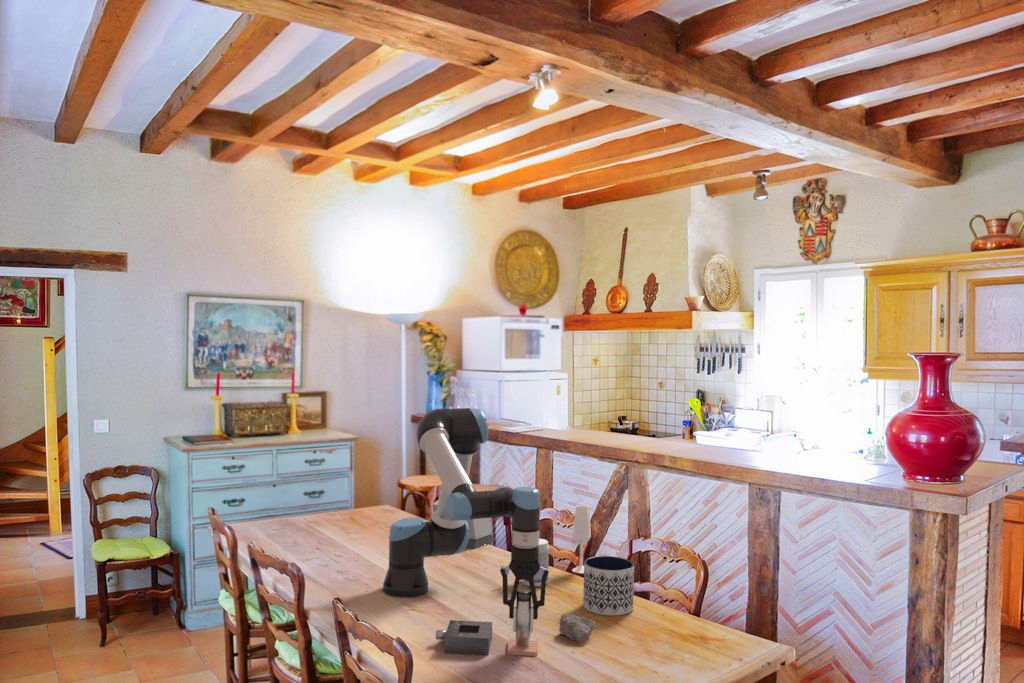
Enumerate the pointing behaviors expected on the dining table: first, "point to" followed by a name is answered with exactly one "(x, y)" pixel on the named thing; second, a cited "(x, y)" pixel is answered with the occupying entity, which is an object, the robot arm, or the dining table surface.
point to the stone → (576, 627)
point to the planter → (608, 585)
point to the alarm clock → (476, 531)
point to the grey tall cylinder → (523, 617)
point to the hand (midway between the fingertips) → (523, 630)
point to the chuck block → (466, 637)
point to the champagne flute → (581, 531)
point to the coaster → (522, 648)
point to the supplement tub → (540, 562)
